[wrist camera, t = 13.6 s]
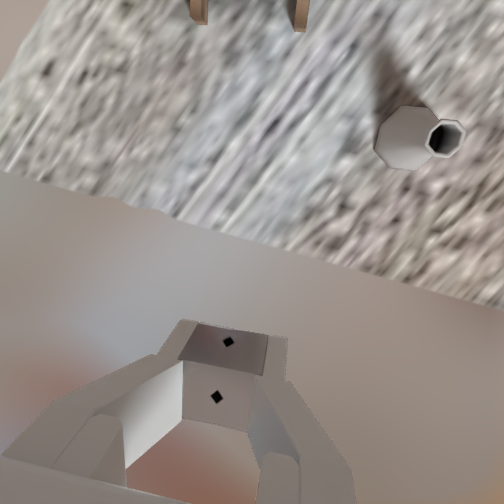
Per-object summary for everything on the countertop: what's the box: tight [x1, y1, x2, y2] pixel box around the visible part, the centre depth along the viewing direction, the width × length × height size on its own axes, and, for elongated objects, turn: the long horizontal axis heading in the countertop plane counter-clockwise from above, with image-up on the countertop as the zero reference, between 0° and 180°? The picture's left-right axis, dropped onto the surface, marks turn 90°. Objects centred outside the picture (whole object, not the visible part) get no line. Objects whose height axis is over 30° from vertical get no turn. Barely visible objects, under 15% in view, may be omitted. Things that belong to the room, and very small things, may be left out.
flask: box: [374, 105, 467, 171], centre depth 31 cm, size 7×7×10 cm
